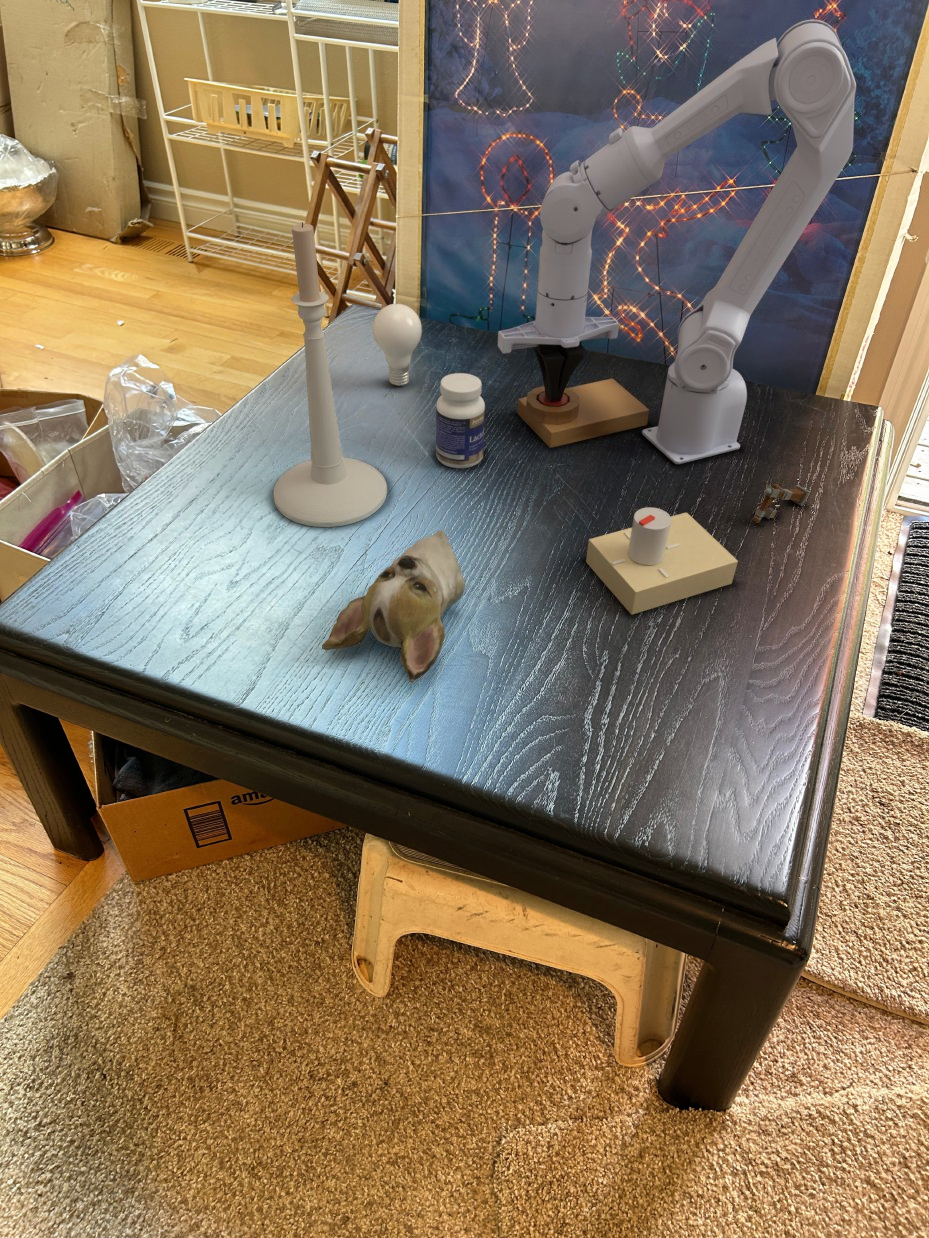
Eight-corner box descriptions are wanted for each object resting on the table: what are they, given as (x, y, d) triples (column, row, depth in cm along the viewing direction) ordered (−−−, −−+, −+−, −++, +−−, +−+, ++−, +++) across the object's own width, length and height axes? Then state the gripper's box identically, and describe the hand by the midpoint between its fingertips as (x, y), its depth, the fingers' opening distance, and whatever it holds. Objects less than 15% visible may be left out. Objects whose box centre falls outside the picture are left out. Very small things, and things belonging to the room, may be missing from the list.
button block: (610, 393, 121) (614, 365, 118) (647, 425, 115) (651, 397, 112) (511, 415, 116) (513, 386, 114) (544, 449, 110) (547, 420, 108)
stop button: (557, 401, 114) (559, 388, 113) (571, 414, 112) (573, 401, 111) (532, 406, 113) (533, 393, 112) (546, 420, 111) (547, 407, 110)
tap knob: (644, 538, 92) (651, 500, 89) (671, 555, 90) (679, 517, 87) (620, 553, 91) (626, 514, 87) (647, 570, 89) (655, 531, 85)
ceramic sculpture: (492, 531, 83) (414, 638, 74) (492, 599, 89) (420, 705, 80) (392, 501, 87) (306, 599, 77) (399, 568, 93) (319, 666, 84)
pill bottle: (478, 473, 106) (480, 397, 100) (431, 467, 107) (430, 391, 100) (487, 447, 110) (490, 372, 104) (441, 442, 111) (441, 367, 104)
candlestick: (326, 450, 109) (298, 189, 89) (409, 486, 104) (400, 217, 84) (250, 500, 102) (200, 226, 81) (335, 541, 96) (305, 259, 76)
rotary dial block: (681, 534, 98) (686, 510, 96) (731, 583, 92) (738, 559, 90) (585, 562, 94) (588, 537, 92) (631, 615, 88) (635, 590, 86)
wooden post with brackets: (743, 517, 99) (763, 480, 97) (778, 518, 104) (798, 482, 102) (756, 525, 98) (777, 488, 96) (791, 525, 103) (811, 490, 101)
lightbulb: (421, 396, 119) (420, 317, 112) (374, 396, 119) (369, 316, 112) (424, 374, 124) (422, 296, 117) (378, 373, 124) (373, 295, 117)
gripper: (514, 312, 98) (508, 422, 107) (636, 297, 101) (620, 405, 110) (493, 286, 103) (489, 394, 112) (609, 273, 106) (596, 378, 115)
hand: (553, 398), depth 112 cm, fingers closed, pressing on stop button
